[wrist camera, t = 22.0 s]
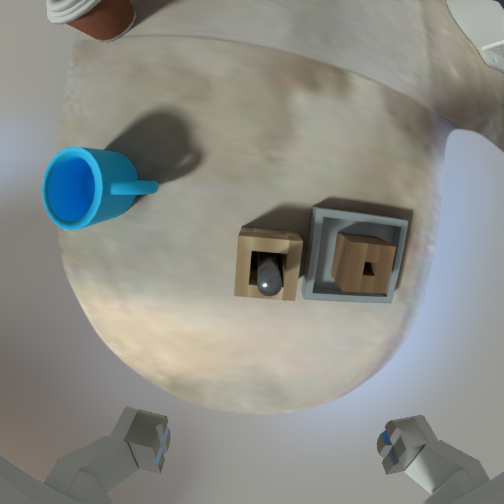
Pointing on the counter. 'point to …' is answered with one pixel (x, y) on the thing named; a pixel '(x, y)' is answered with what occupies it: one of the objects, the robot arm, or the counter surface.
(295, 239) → the block
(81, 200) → the mug
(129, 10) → the coffee cup
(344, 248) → the block
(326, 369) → the counter surface
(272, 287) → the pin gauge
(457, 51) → the counter surface
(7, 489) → the robot arm
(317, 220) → the tray
